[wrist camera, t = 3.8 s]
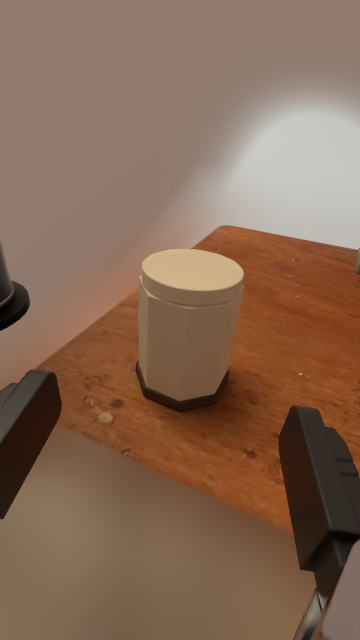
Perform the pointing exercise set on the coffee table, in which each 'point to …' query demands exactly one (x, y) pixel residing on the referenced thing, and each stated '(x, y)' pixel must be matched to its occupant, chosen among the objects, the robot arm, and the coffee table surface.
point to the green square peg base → (358, 261)
